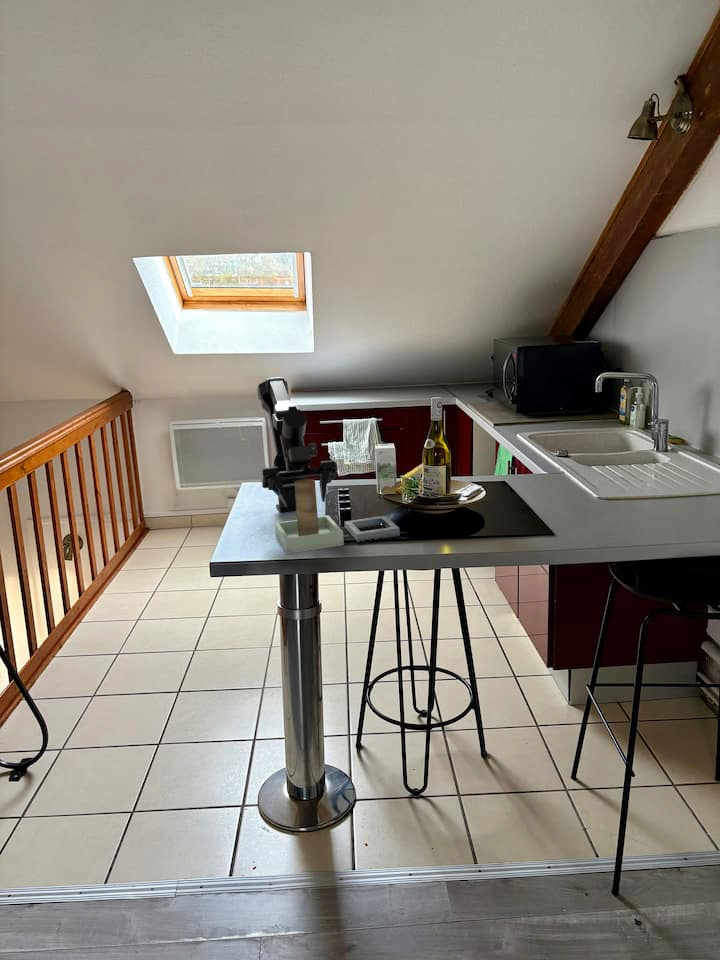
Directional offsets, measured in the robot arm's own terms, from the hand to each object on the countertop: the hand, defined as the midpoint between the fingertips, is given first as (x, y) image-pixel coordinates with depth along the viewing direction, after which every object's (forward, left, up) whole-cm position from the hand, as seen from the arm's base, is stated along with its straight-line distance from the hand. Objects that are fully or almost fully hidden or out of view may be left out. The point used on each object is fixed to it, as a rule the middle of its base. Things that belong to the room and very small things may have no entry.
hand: (305, 503), depth 182 cm
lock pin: (+1, 0, -8) cm, 8 cm away
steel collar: (+2, +16, -9) cm, 19 cm away
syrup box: (-30, +31, -9) cm, 44 cm away
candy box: (-22, +37, -10) cm, 44 cm away
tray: (+1, 0, -9) cm, 9 cm away
